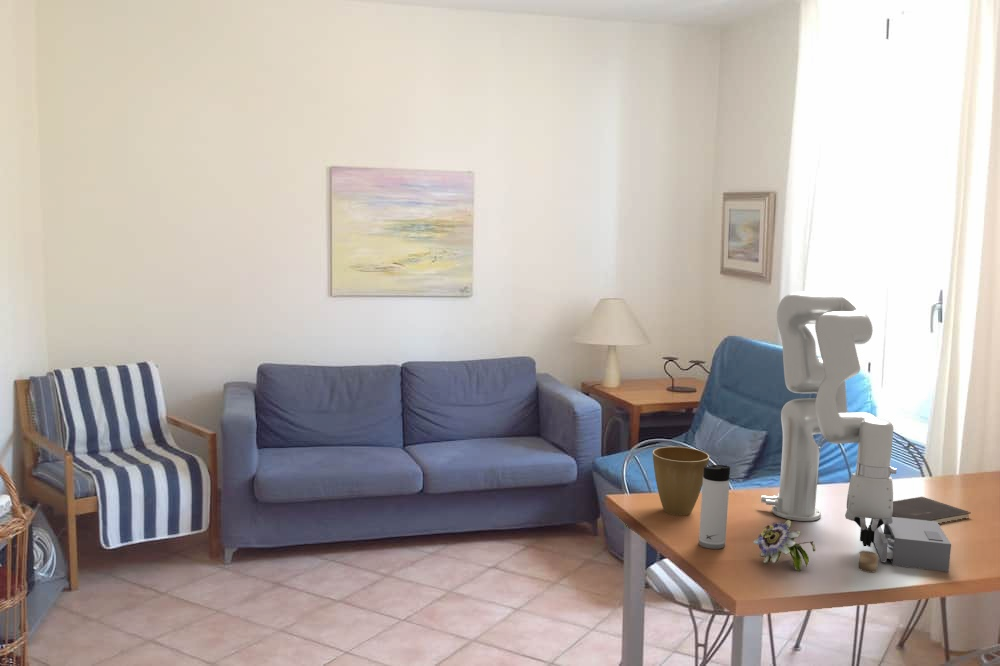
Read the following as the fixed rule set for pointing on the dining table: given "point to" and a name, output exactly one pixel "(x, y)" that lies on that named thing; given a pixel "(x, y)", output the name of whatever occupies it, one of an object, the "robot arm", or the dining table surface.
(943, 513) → the hardcover book
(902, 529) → the housing
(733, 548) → the dining table surface
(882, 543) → the tray
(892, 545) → the disc
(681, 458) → the plant pot
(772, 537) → the passion flower
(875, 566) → the stand
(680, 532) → the dining table surface
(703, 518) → the travel mug
